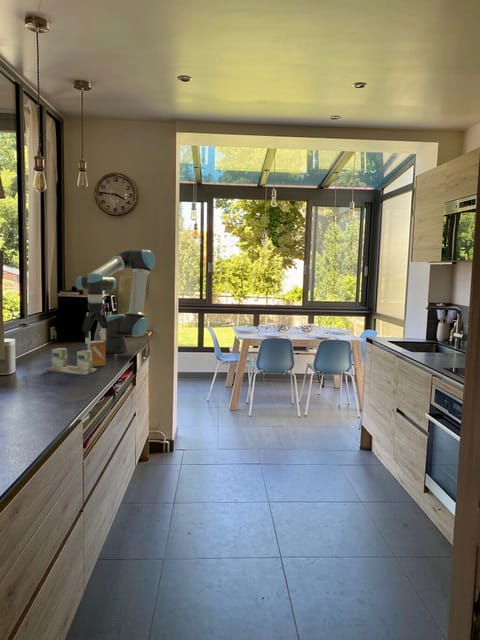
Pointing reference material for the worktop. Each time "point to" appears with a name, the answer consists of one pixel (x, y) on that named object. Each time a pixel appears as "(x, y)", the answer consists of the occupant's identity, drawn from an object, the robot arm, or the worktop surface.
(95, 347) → the small box
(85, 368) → the cream u-shaped bracket
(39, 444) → the worktop surface
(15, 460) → the worktop surface
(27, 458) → the worktop surface
